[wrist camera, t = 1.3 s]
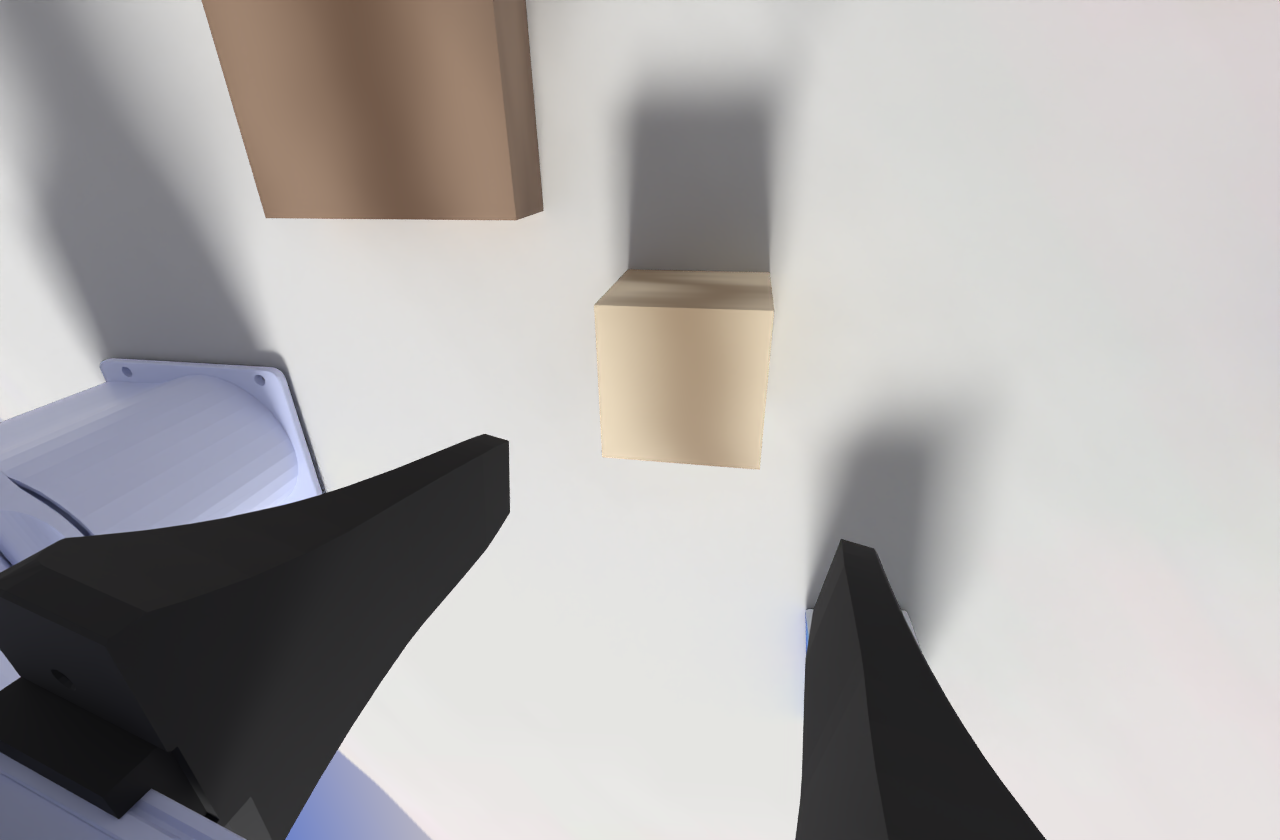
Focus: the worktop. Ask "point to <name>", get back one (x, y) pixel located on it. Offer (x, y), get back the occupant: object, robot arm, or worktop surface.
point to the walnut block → (383, 106)
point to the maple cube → (684, 366)
